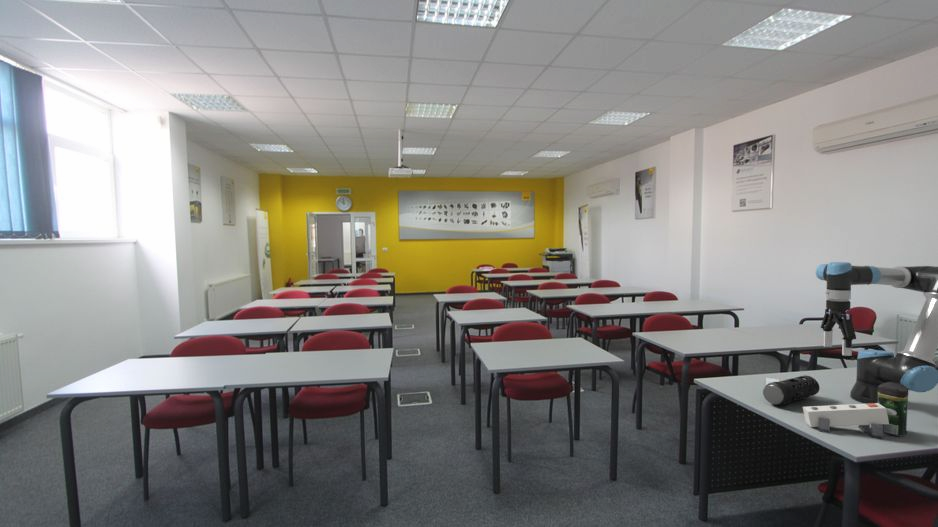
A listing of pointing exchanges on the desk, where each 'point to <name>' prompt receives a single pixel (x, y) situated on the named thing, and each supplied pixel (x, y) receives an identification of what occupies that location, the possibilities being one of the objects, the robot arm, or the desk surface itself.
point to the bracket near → (873, 430)
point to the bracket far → (823, 425)
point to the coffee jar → (894, 407)
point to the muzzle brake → (790, 390)
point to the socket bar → (847, 414)
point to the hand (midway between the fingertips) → (837, 350)
